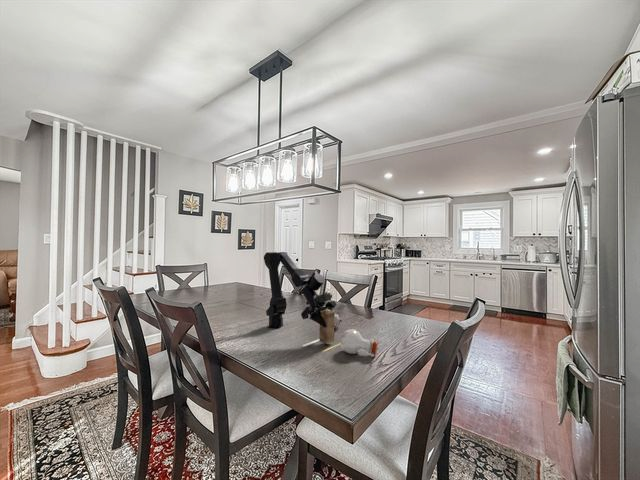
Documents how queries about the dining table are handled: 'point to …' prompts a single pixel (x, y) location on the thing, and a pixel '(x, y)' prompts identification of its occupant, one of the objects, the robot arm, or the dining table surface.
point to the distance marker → (331, 347)
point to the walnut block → (327, 327)
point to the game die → (336, 321)
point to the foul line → (310, 343)
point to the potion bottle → (357, 343)
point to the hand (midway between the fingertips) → (329, 325)
